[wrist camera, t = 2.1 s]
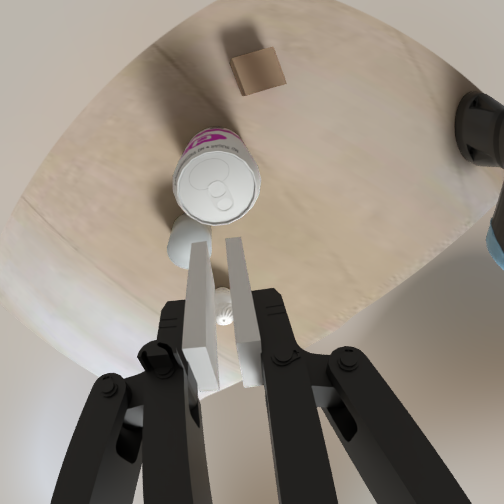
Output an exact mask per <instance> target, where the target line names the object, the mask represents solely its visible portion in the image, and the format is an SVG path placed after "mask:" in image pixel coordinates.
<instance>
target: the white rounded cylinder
mask: <svg viewBox="0 0 504 504" xmlns="http://www.w3.org/2000/svg"><path fill="white" fill-rule="evenodd" d="M211 239H212V230H211V225H207V224H202V223H200V222H198V221H197V220H195V219H193V218H191V217H190V216H188V215H187V214H186V213H185V214H182V215H180V216H179V217H178V218H177V219H176V220H175V222H174V224H173V227H172V231H171V235H170V238H169V242H168V246H167V252H168V256H169V258H170V260H171V261H172V262H173V263H174V264H175V265H177V266H178V267H181V268H184V269H189V261H190V252H191V244H192V243H195V242H203V241H207V246H208V251H209V257H210V256H211V251H212V248H211Z"/></svg>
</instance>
